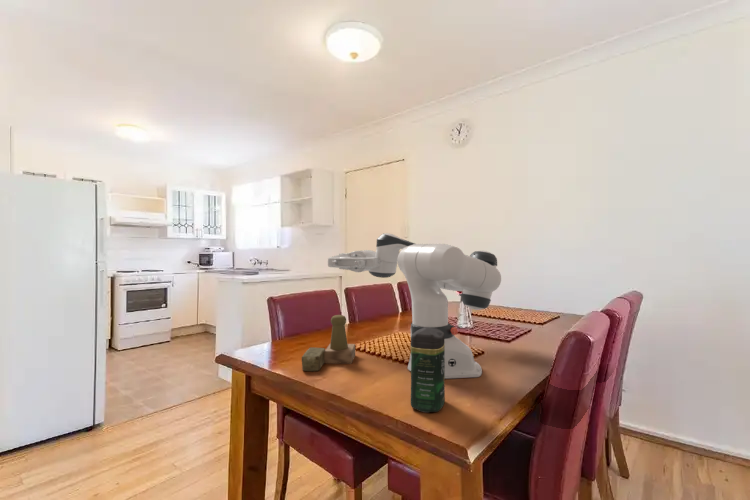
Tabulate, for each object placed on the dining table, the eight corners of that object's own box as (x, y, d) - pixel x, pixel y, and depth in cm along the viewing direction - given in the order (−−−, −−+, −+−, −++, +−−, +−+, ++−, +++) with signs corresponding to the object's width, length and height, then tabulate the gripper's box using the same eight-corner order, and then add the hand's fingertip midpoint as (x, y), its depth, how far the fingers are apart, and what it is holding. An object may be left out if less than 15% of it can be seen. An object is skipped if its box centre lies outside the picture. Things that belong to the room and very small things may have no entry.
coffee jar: (441, 416, 85) (440, 334, 84) (407, 411, 87) (406, 332, 87) (447, 399, 94) (447, 325, 93) (417, 395, 96) (416, 323, 96)
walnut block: (355, 355, 131) (355, 344, 131) (351, 363, 122) (351, 351, 122) (330, 354, 132) (330, 343, 132) (324, 363, 123) (324, 351, 123)
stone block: (300, 372, 115) (300, 356, 115) (309, 360, 126) (309, 346, 126) (319, 372, 114) (319, 356, 114) (326, 360, 126) (325, 346, 126)
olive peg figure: (351, 346, 128) (350, 314, 128) (341, 351, 123) (340, 317, 122) (336, 344, 131) (336, 313, 131) (326, 348, 126) (325, 316, 125)
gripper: (383, 269, 149) (371, 272, 136) (337, 268, 156) (321, 271, 143) (383, 253, 149) (370, 254, 136) (336, 253, 156) (321, 254, 143)
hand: (345, 263), depth 139 cm, fingers open, 8 cm apart
